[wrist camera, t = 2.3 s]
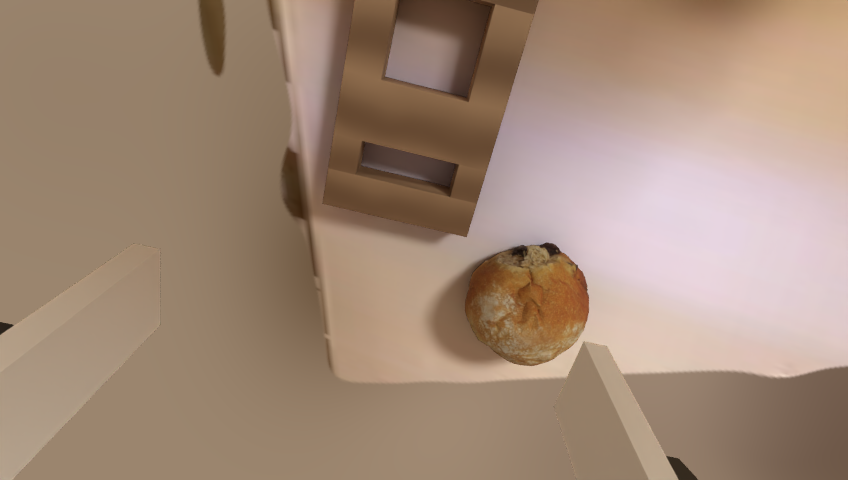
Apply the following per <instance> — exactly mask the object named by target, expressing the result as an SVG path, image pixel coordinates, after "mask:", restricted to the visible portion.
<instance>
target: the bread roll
mask: <svg viewBox="0 0 848 480" xmlns="http://www.w3.org/2000/svg"><path fill="white" fill-rule="evenodd" d="M587 290H588V289H587V284H586V280H585V277H584V275H583V272H582V271H581V270H580V269H579V268H578V265H576V264H575V263H574V262H573V261H571V260H570V258H569V257H568V256H567V255H566V254H564V253H562V252H561V251H560V250H559V248H558V247H557V246H556V245H554V244H552V243H545V244H543V245H541V246H536V245H530V246H524V245H521V246H519V247H517V248H515V249H514V250H508V251H504V252H500V253H499V254H497V255H495V256H494V257H492V258H491V259H489V260H486V261H484V263H483V264H481V265H480V266H479V267H478V268H477V269H476V270H475V271H474V272H473V273H472V275H471V280H470V284H469V291H468V293H467V297H466V302H465V312H466V315H467V318H468V321H469V323H470V325H471V328H472V330H473V332H474V333H475V334H476V337H477V338H478V340H480V341H481V342H483V343H484V344H486V345H488V346H490V347H491V348H492V350H493V351H494V352H496V353H497V354H498V355H500V356H501V357H503V358H504V359H506V360H507V361H509V362H512V363H514V364H518V365H526V366H534V365H539V364H542V363H545V362H548V361H550V360H552V359H554V358H555V357H557V356H558V355H559V354H561V353H562V352H564V351H566V350H567V349H569V348H570V347H571V346H572V345H573V344H574V343H575V342H576V341H577V340H578V338H579V336H580V335H581V333H582V332H583V330H584V328H585V324H586V321H587V317H588V313H589V297H588V296H589V295H588V293H587Z"/></svg>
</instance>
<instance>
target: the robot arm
mask: <svg viewBox="0 0 848 480" xmlns="http://www.w3.org/2000/svg"><path fill="white" fill-rule="evenodd" d="M159 326H160V249H158V248H154V247H149V246H145V245H140V244H135V243H134V244H132V245H131V246H129V247H128V248H126V249H125V250H123V251H122V252H121V253H119V254H118V255H116V256H115V257H113V258H112V259H110V260H109V261H107V262H106V263H104V264H103V265H101V266H100V267H99V268H97V269H96V270H94V271H93V272H92V273H90V274H88V275H87V276H85V277H84V278H83V279H81V280H80V281H78V282H77V283H75V284H74V285H72V286H71V287H69V288H68V289H67V290H65V291H64V292H62V293H61V294H60V295H58V296H56V297H55V298H54V299H52V300H50V301H49V302H48V303H46V304H45V305H43V306H42V307H40V308H39V309H37V310H36V311H34V312H33V313H32V314H30V315H29V316H27V317H26V318H24V319H23V320H21V321H20V322H18V323H17V324H16V325H12V324H7V323H2V322H0V480H12V479H14V477H15V476H16V475H17V474H18V473H19V472H20V471H21V470H22V469H23V468H24V467H25V466H26V465H27V464H28V463H29V462H30V461H31V460H32V459H33V458H34V457H35V456H36V454H37V453H38V452H39V451H40V450H41V449H42V448H43V447H44V446H45V445H46V444H47V443H48V442H49V441H50V440H51V439H52V438H53V436H55V435H56V434H57V433H58V432H59V430H60V429H61V428H62V427H63V426H64V425H65V424H66V423H67V422H68V421H69V420H70V419H71V418H72V417H73V416H74V415H75V414H76V413H77V412H78V411H79V410H80V408H81V407H82V406H83V405H84V404H85V403H86V402H87V401H88V400H89V399H90V398H91V397H92V396H93V395H94V394H95V393H96V392H97V391H98V390H99V389H100V388H101V387H102V386H103V384H104V383H105V382H106V381H107V380H108V379H109V378H110V377H111V376H112V375H113V374H114V373H115V372H116V371H117V370H118V369H119V368H120V367H121V365H122V364H123V363H124V362H125V361H126V360H127V359H128V358H129V357H130V356H131V355H132V354H133V353H134V352H135V351H136V350H137V349H138V348H139V347H140V346H141V345H142V344H143V343H144V342H145V340H146V339H147V338H148V337H149V336H150V335H151V334H152V333H153V332H154V331H155V330H156V329H157V328H158V327H159ZM554 409H555V412H556V416H557V419H558V422H559V425H560V429H561V432H562V435H563V438H564V442H565V445H566V448H567V451H568V455H569V458H570V461H571V465H572V468H573V471H574V474H575V478H576V480H697V478H696V477H695V476H694V475H693V474H692V472H691V471H690V470H689V469H688V468H687V467H686V466H685V465H684V464H683V463H682V462H681V461H680V459H678V458H673V457H668V456H666V455H665V454H664V452H663V450H662V448H661V446H660V444H659V443H658V441H657V439H656V437H655V435H654V433H653V431H652V429H651V428H650V426H649V424H648V422H647V420H646V418H645V416H644V415H643V413H642V411H641V409H640V407H639V405H638V403H637V401H636V400H635V398H634V396H633V394H632V392H631V390H630V388H629V387H628V385H627V383H626V381H625V379H624V377H623V375H622V373H621V372H620V370H619V368H618V366H617V364H616V362H615V360H614V359H613V357H612V355H611V353H610V351H609V349H608V347H607V346H603V345H598V344H594V343H589V342H583V344H582V346H581V349H580V351H579V353H578V355H577V357H576V359H575V362H574V364H573V366H572V368H571V370H570V372H569V374H568V377H567V379H566V381H565V383H564V385H563V387H562V390H561V392H560V394H559V396H558V398H557V400H556V402H555V405H554Z"/></svg>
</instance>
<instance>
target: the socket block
mask: <svg viewBox="0 0 848 480" xmlns="http://www.w3.org/2000/svg"><path fill="white" fill-rule="evenodd" d="M399 1H400V0H355V1H354V7H353V13H352V20H351V26H350V32H349V39H348V45H347V51H346V58H345V64H344V70H343V77H342V83H341V89H340V96H339V102H338V109H337V115H336V121H335V128H334V134H333V140H332V147H331V153H330V159H329V166H328V172H327V178H326V185H325V191H324V197H323V204H327V205H331V206H335V207H339V208H344V209H348V210H352V211H357V212H361V213H365V214H370V215H374V216H378V217H382V218H387V219H391V220H395V221H400V222H404V223H408V224H413V225H417V226H421V227H425V228H430V229H434V230H438V231H443V232H447V233H451V234H456V235H460V236H464V237H467V234H468V231H469V227H470V224H471V221H472V217H473V214H474V211H475V208H476V204H477V201H478V198H479V194H480V191H481V188H482V185H483V181H484V178H485V175H486V171H487V168H488V165H489V162H490V158H491V155H492V152H493V148H494V145H495V142H496V138H497V135H498V132H499V129H500V125H501V122H502V119H503V115H504V112H505V109H506V106H507V102H508V99H509V96H510V92H511V89H512V86H513V83H514V79H515V76H516V73H517V69H518V66H519V63H520V60H521V56H522V53H523V50H524V46H525V43H526V40H527V37H528V33H529V30H530V27H531V23H532V20H533V17H534V13H535V10H536V7H537V4H538V0H469V1H473V2H476V3H480V4H484V5H487V6H491V9H490V12H489V16H488V20H487V24H486V27H485V31H484V35H483V39H482V42H481V46H480V50H479V53H478V57H477V61H476V65H475V68H474V72H473V76H472V80H471V83H470V87H469V91H468V95H467V98H466V97H462V96H458V95H454V94H451V93H447V92H443V91H439V90H435V89H431V88H427V87H423V86H419V85H415V84H411V83H407V82H403V81H399V80H396V79H392V78H388V77H385V74H386V68H387V63H388V58H389V53H390V48H391V43H392V37H393V32H394V27H395V22H396V17H397V12H398V6H399ZM365 142H369V143H373V144H377V145H381V146H385V147H389V148H393V149H397V150H401V151H405V152H410V153H414V154H418V155H422V156H426V157H430V158H434V159H438V160H442V161H447V162H451V163H455V164H456V165H455V168H454V172H453V176H452V179H451V183H450V187H448V186H443V185H439V184H435V183H431V182H427V181H423V180H418V179H414V178H410V177H406V176H402V175H398V174H393V173H389V172H385V171H381V170H377V169H373V168H368V167H364V166H361V163H362V158H363V152H364V147H365Z"/></svg>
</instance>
